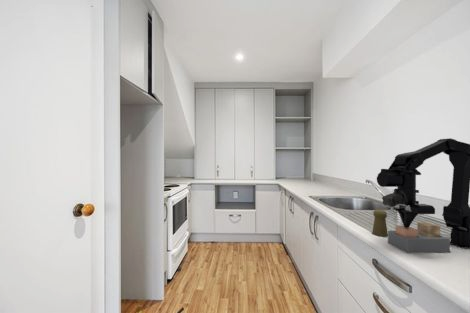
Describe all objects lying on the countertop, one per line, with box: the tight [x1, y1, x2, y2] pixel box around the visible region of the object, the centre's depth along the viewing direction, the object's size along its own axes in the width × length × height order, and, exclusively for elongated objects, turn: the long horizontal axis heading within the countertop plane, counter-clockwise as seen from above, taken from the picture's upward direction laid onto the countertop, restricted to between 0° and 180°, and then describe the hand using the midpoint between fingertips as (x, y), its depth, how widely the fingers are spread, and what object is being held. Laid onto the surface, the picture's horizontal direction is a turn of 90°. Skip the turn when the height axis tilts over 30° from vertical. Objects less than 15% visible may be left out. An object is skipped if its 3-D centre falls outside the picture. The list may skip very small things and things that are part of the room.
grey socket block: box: [387, 230, 451, 254], centre depth 89 cm, size 16×10×5 cm, turn 93°
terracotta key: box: [395, 225, 418, 237], centre depth 89 cm, size 5×5×6 cm
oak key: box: [416, 221, 441, 237], centre depth 90 cm, size 5×5×6 cm
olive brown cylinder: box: [371, 209, 388, 238], centre depth 105 cm, size 6×6×11 cm
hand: (406, 227), depth 89 cm, fingers closed, pressing on terracotta key
